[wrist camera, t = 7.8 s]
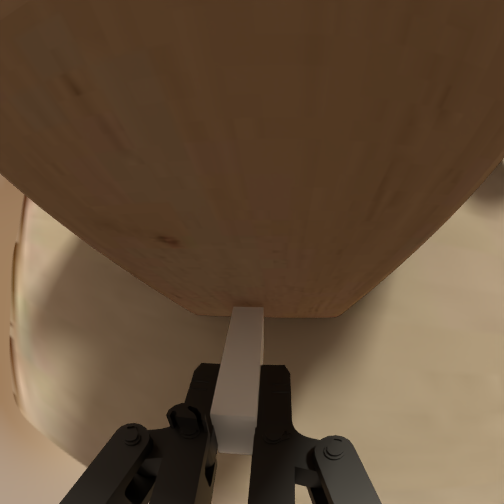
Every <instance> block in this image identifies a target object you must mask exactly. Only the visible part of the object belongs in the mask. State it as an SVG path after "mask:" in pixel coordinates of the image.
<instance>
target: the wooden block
mask: <svg viewBox="0 0 504 504" xmlns="http://www.w3.org/2000/svg"><path fill="white" fill-rule="evenodd" d="M503 158H504V0H0V174H1V175H2V176H4V177H5V178H6V179H7V180H8V181H9V182H10V183H12V184H13V185H14V186H15V187H16V188H17V189H19V190H20V191H21V192H22V193H23V194H25V195H26V196H27V197H28V198H29V199H31V200H32V201H33V202H34V203H36V204H37V205H38V206H39V207H40V208H42V209H43V210H44V211H45V212H47V213H48V214H49V215H51V216H52V217H53V218H54V219H56V220H57V221H58V222H60V223H61V224H62V225H63V226H65V227H66V228H67V229H69V230H70V231H71V232H73V233H74V234H75V235H77V236H78V237H79V238H81V239H82V240H84V241H85V242H86V243H88V244H89V245H90V246H92V247H93V248H95V249H96V250H97V251H99V252H100V253H102V254H103V255H104V256H106V257H107V258H109V259H110V260H112V261H113V262H114V263H116V264H117V265H119V266H120V267H122V268H123V269H125V270H126V271H128V272H129V273H131V274H132V275H134V276H135V277H137V278H138V279H140V280H141V281H143V282H144V283H146V284H147V285H149V286H150V287H152V288H153V289H155V290H156V291H158V292H160V293H161V294H163V295H164V296H166V297H168V298H169V299H171V300H172V301H174V302H176V303H177V304H179V305H180V306H182V307H184V308H185V309H187V310H189V311H190V312H192V313H194V314H196V315H210V316H231V315H232V310H233V307H264V317H277V318H322V317H337V316H339V315H341V314H342V313H344V312H345V311H346V310H347V309H349V308H350V307H351V306H352V305H354V304H355V303H356V302H357V301H359V300H360V299H361V298H362V297H364V296H365V295H366V294H367V293H368V292H370V291H371V290H372V289H373V288H374V287H376V286H377V285H378V284H379V283H380V282H381V281H383V280H384V279H385V278H386V277H387V276H388V275H389V274H391V273H392V272H393V271H394V270H395V269H396V268H397V267H399V266H400V265H401V264H402V263H403V262H404V261H405V260H406V259H407V258H409V257H410V256H411V255H412V254H413V253H414V252H415V251H416V250H417V249H418V248H419V247H420V246H421V245H423V244H424V243H425V242H426V241H427V240H428V239H429V238H430V237H431V236H432V235H433V234H434V233H435V232H436V231H437V230H438V229H439V228H440V227H441V226H442V225H443V224H444V223H445V222H446V221H447V220H448V219H449V218H450V217H451V216H452V215H453V214H454V213H455V212H456V211H457V210H458V209H459V208H460V207H461V206H462V205H463V204H464V203H465V201H466V200H467V199H468V198H469V197H470V196H471V195H472V194H473V193H474V192H475V191H476V190H477V188H478V187H479V186H480V185H481V184H482V183H483V182H484V181H485V179H486V178H487V177H488V176H489V175H490V174H491V173H492V171H493V170H494V169H495V168H496V167H497V165H498V164H499V163H500V162H501V161H502V159H503Z"/></svg>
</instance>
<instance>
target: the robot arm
mask: <svg viewBox="0 0 504 504" xmlns="http://www.w3.org/2000/svg"><path fill="white" fill-rule="evenodd" d="M263 354H264V307H233V310H232V315H231V319H230V324H229V328H228V333H227V338H226V342H225V347H224V351H223V356H222V360H221V364H210V363H201V364H200V365H199V366H198V367H197V369H196V370H195V371H194V374H193V377H192V382H191V383H190V387H189V390H188V393H187V397H186V400H185V403H181V404H178V405H175V406H173V407H172V408H171V409H169V411H168V413H167V414H166V416H167V419H168V421H169V424H170V427H167V428H163V429H156V430H147V429H146V428H145V427H143V426H142V425H140V424H136V423H131V424H126V425H123V426H121V427H120V428H119V429H118V430H117V431H116V432H115V434H114V435H113V436H112V437H111V439H110V440H109V441H108V443H107V444H106V445H105V446H104V448H103V449H102V450H101V451H100V453H99V454H98V455H97V457H96V458H95V459H94V460H93V462H92V463H91V464H90V465H89V467H88V468H87V469H86V471H85V472H84V473H83V474H82V476H81V477H80V478H79V479H78V481H77V482H76V483H75V484H74V486H73V487H72V488H71V490H70V491H69V492H68V494H67V495H66V496H65V497H64V498H63V500H62V501H61V502H60V503H59V504H148V502H149V501H150V502H149V504H211V499H212V493H213V486H214V480H215V474H216V468H217V460H216V454H217V448H218V452H219V453H229V454H244V455H252V464H251V475H250V486H249V497H248V504H295V484H298V485H302V486H306V487H307V489H308V492H309V495H310V498H311V501H312V504H382V503H381V501H380V499H379V497H378V495H377V493H376V491H375V489H374V487H373V485H372V483H371V481H370V479H369V477H368V475H367V473H366V471H365V469H364V466H363V464H362V462H361V460H360V458H359V456H358V454H357V452H356V450H355V448H354V446H353V445H352V443H351V442H350V441H349V440H348V439H346V438H344V437H342V436H337V435H334V436H327V437H325V438H323V439H321V440H317V439H313V438H308V437H306V436H303V435H301V434H300V433H298V432H297V431H296V430H295V428H294V426H293V424H292V410H291V385H290V384H291V383H290V373H289V371H288V370H287V368H286V366H285V365H263Z"/></svg>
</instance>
